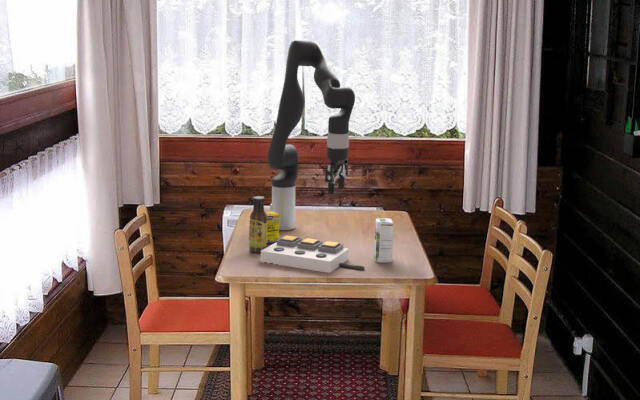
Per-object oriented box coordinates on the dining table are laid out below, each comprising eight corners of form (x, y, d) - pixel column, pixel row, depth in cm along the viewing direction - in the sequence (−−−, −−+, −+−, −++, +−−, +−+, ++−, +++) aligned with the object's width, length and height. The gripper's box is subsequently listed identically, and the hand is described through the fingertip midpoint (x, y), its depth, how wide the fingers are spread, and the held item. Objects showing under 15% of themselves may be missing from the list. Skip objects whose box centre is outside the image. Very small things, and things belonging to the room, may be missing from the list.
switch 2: (300, 246, 277) (300, 241, 276) (306, 243, 281) (306, 237, 281) (313, 248, 275) (313, 243, 274) (318, 245, 279) (318, 239, 279)
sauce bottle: (245, 251, 285) (245, 197, 280) (255, 247, 290) (255, 194, 286) (260, 254, 282) (260, 199, 277) (270, 250, 287) (270, 196, 282)
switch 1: (280, 244, 280) (280, 238, 279) (286, 240, 284) (286, 235, 284) (292, 245, 278) (292, 240, 278) (298, 242, 282) (298, 236, 282)
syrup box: (373, 257, 280) (374, 218, 277) (389, 257, 280) (391, 217, 277) (375, 262, 274) (377, 222, 271) (392, 262, 275) (394, 222, 272)
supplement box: (264, 244, 294) (264, 216, 291) (258, 240, 299) (258, 212, 296) (279, 242, 296) (279, 214, 294) (272, 238, 301) (272, 210, 299)
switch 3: (321, 250, 274) (321, 244, 273) (327, 246, 278) (327, 240, 277) (334, 251, 272) (334, 246, 271) (339, 248, 276) (339, 242, 275)
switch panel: (260, 262, 273) (260, 246, 272) (281, 249, 288) (281, 234, 286) (355, 277, 259) (356, 260, 258) (373, 263, 274) (373, 247, 272)
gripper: (336, 141, 282) (334, 185, 286) (319, 147, 270) (317, 194, 274) (355, 143, 279) (354, 188, 283) (339, 150, 266) (337, 196, 271)
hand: (336, 191), depth 278 cm, fingers open, 8 cm apart
